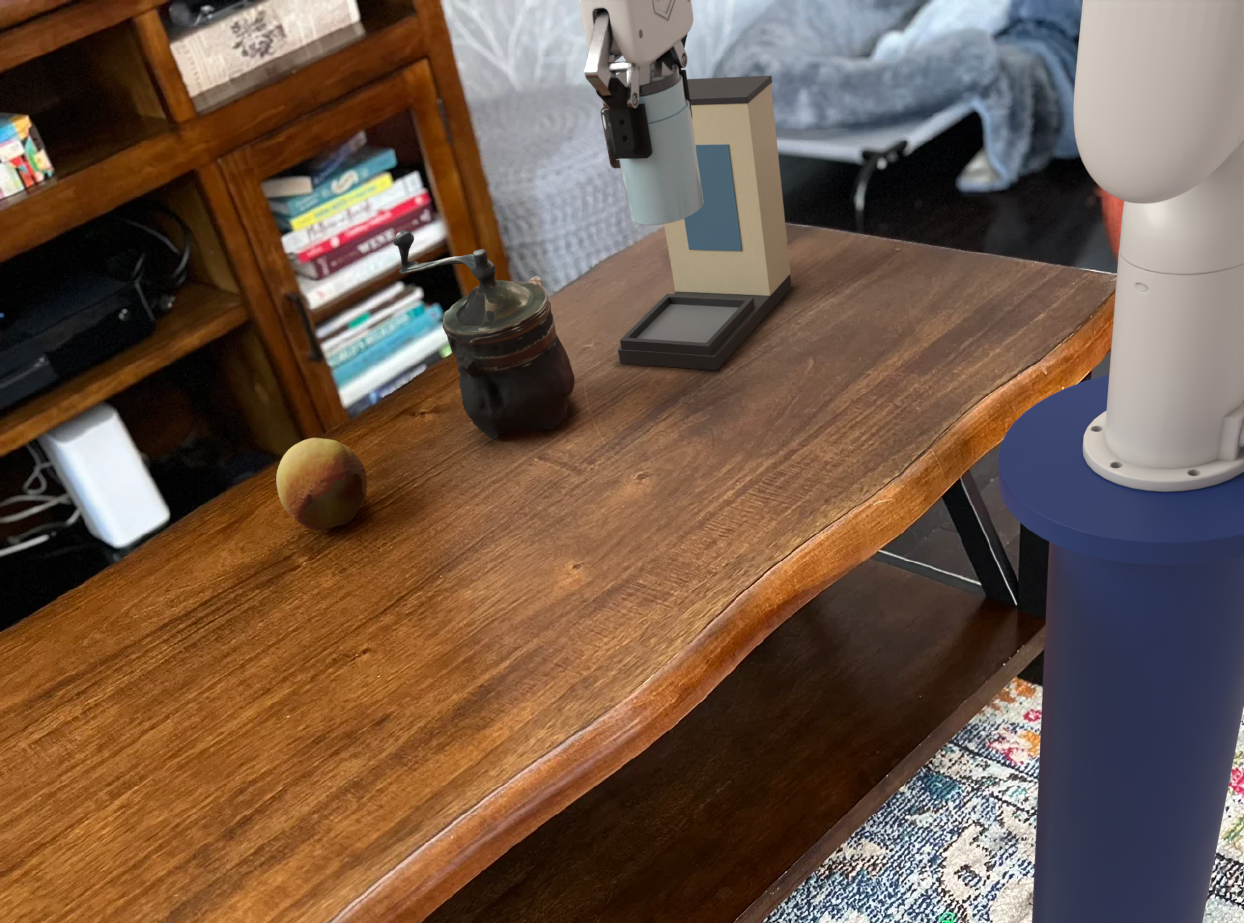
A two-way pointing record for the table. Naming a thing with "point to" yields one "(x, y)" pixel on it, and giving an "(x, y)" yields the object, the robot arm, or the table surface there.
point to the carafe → (660, 151)
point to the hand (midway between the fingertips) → (655, 137)
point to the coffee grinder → (503, 348)
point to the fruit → (321, 483)
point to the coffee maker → (722, 234)
